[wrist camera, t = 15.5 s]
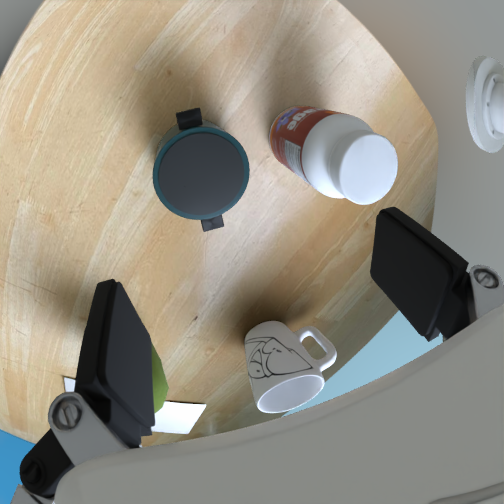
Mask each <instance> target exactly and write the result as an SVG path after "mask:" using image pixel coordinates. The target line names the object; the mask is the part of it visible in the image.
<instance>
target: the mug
mask: <svg viewBox="0 0 504 504" xmlns="http://www.w3.org/2000/svg"><path fill="white" fill-rule="evenodd" d="M306 336H312V337H314V338H315V340H316V341H317V342H318V343H319V344H320V345H321V346H322V348H323V349H324V350H325V351H326V353H327V355H326V356H325V357H324V358H322V359H320V360H315V359H313V358H312V357H311V356H310V355H309V354H308V352H307V351H306V349H305V348H304V347H303V345H302V344H301V341H302V339H303V338H305V337H306ZM245 354H246V362H247V370H248V375H249V380H250V384H251V388H252V392H253V395H254V399H255V403H256V405H257V407H258V408H259V409H260V410H261V411H263V412H267V413H277V412H284V411H287V410H291V409H294V408H296V407H299V406H301V405H303V404H305V403H306V402H308V401H310V400H311V399H312V398H314V397H315V396H316V395H317V394H318V393H319V392H320V391H321V390H322V388H323V386H324V378H323V376H322V374H321V371H322V370H324V369H326V368H328V367H329V366H331V365H332V364H333V363H334V361H335V359H336V349H335V347H334V346H333V344H332V343H331V342H330V341H329V340H328V339H327V338H326V337H325V336H324V335H323V334H322V333H321V332H320V331H319V330H318V329H317V328H316V327H313V326H306V327H303V328H301V329H299V330H297V331H295V332H292V331H291V330H290V329H289V328H288V327H287V326H286V325H285V324H283V323H281V322H278V321H268V322H264V323H261V324H259V325H257V326H255V327H254V328H252V329H251V330H250V331H249V332H248V333H247V335H246V337H245Z"/></svg>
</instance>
